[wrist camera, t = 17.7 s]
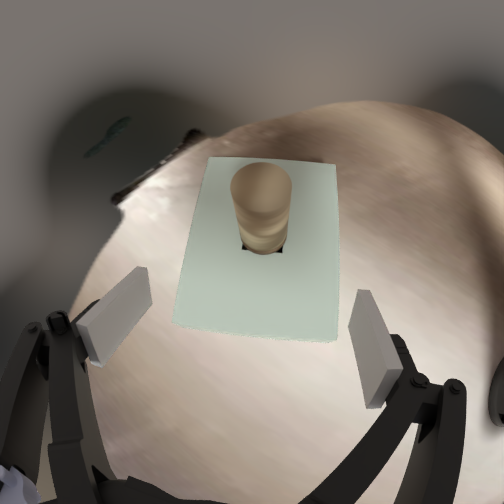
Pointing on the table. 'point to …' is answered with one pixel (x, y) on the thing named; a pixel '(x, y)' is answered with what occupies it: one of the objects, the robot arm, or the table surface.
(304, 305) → the sage board
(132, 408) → the table surface
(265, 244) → the beech peg
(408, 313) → the table surface
